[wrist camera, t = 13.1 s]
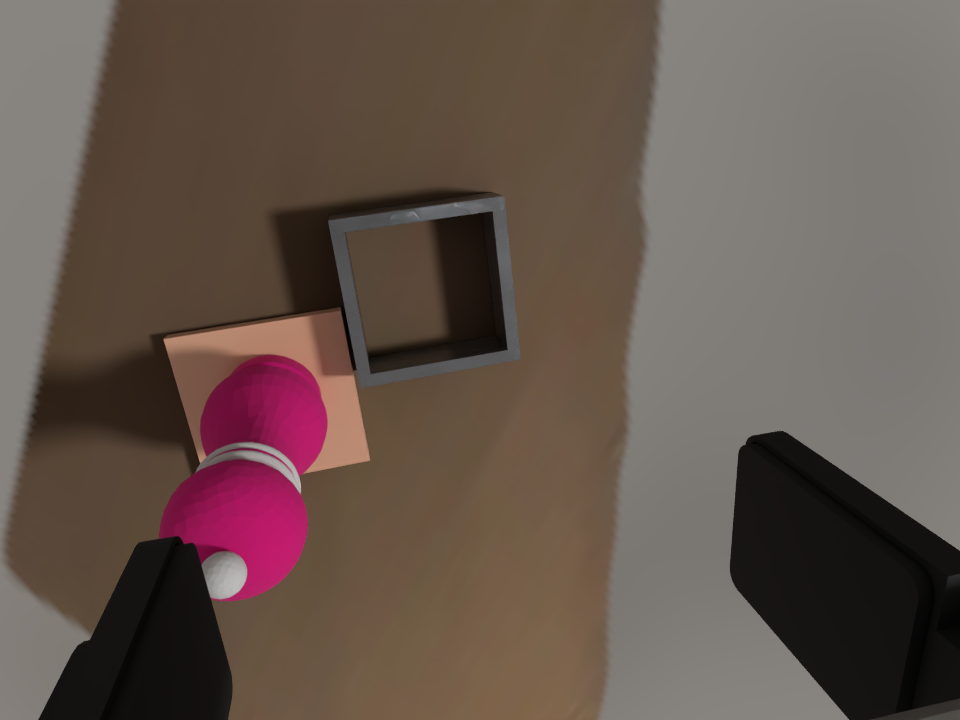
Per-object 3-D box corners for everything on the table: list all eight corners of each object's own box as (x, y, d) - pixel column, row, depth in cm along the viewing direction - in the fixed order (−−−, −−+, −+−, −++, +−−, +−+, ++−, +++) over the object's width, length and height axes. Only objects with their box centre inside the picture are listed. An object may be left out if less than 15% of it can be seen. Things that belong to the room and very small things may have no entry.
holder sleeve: (329, 214, 41) (328, 220, 38) (491, 192, 42) (503, 195, 39) (359, 370, 44) (360, 388, 41) (508, 344, 46) (520, 359, 43)
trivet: (167, 334, 41) (163, 339, 40) (340, 307, 43) (340, 310, 42) (211, 484, 45) (208, 492, 44) (369, 454, 46) (370, 460, 46)
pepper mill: (251, 466, 44) (184, 698, 25) (192, 377, 41) (68, 562, 23) (348, 419, 44) (351, 613, 26) (295, 328, 42) (256, 469, 23)
